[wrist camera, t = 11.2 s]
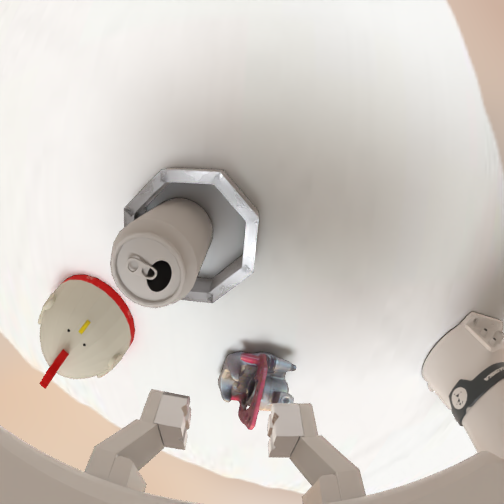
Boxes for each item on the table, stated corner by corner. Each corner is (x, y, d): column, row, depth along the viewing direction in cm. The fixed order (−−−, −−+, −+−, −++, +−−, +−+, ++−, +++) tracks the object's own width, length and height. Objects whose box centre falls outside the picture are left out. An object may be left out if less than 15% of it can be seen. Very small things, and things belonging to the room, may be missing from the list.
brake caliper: (212, 339, 33) (272, 410, 25) (275, 325, 40) (332, 377, 32) (197, 393, 37) (242, 454, 29) (252, 375, 44) (298, 424, 36)
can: (195, 270, 32) (170, 331, 21) (141, 240, 31) (92, 286, 20) (226, 217, 30) (211, 257, 19) (167, 184, 29) (120, 205, 17)
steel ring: (261, 173, 28) (263, 175, 25) (250, 290, 33) (249, 306, 30) (137, 166, 28) (123, 169, 24) (140, 279, 33) (129, 293, 29)
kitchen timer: (152, 323, 35) (113, 406, 21) (109, 364, 38) (75, 431, 24) (79, 255, 32) (8, 311, 18) (48, 309, 35) (-3, 363, 21)
